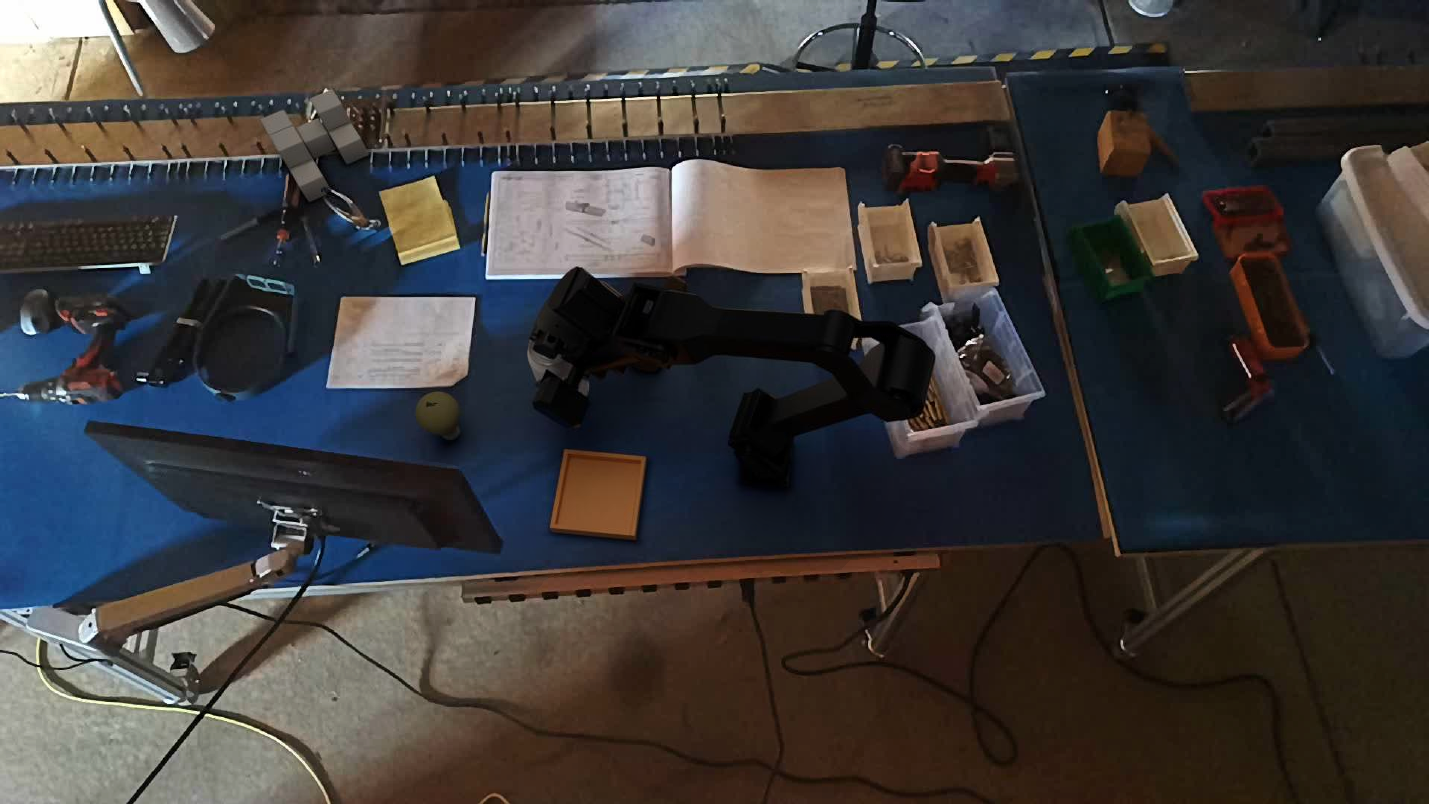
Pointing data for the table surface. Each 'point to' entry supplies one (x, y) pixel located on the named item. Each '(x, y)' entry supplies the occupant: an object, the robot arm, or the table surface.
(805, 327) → the robot arm
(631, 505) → the tray
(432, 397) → the light bulb
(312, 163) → the gray h shaped block
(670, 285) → the bolt
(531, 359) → the can
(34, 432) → the table surface
